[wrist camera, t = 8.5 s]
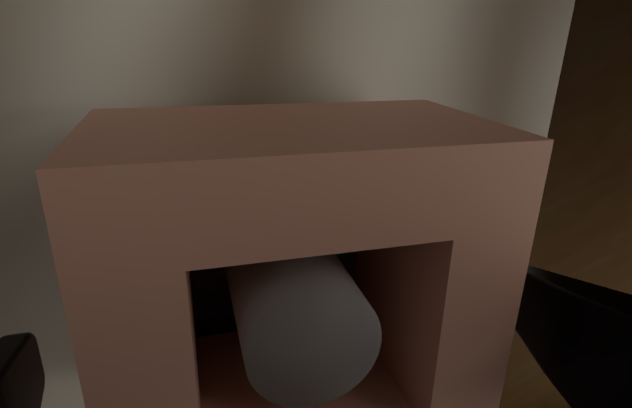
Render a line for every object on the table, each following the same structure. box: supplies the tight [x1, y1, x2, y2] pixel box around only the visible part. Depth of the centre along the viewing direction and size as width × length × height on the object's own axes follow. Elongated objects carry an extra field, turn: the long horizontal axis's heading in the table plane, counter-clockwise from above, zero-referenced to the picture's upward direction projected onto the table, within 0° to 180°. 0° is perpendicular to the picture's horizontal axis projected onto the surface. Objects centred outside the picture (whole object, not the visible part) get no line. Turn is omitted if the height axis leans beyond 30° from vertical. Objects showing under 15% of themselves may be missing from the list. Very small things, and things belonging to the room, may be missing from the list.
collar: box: [35, 100, 554, 408], centre depth 9 cm, size 7×7×4 cm
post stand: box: [0, 0, 575, 408], centre depth 11 cm, size 16×16×6 cm
